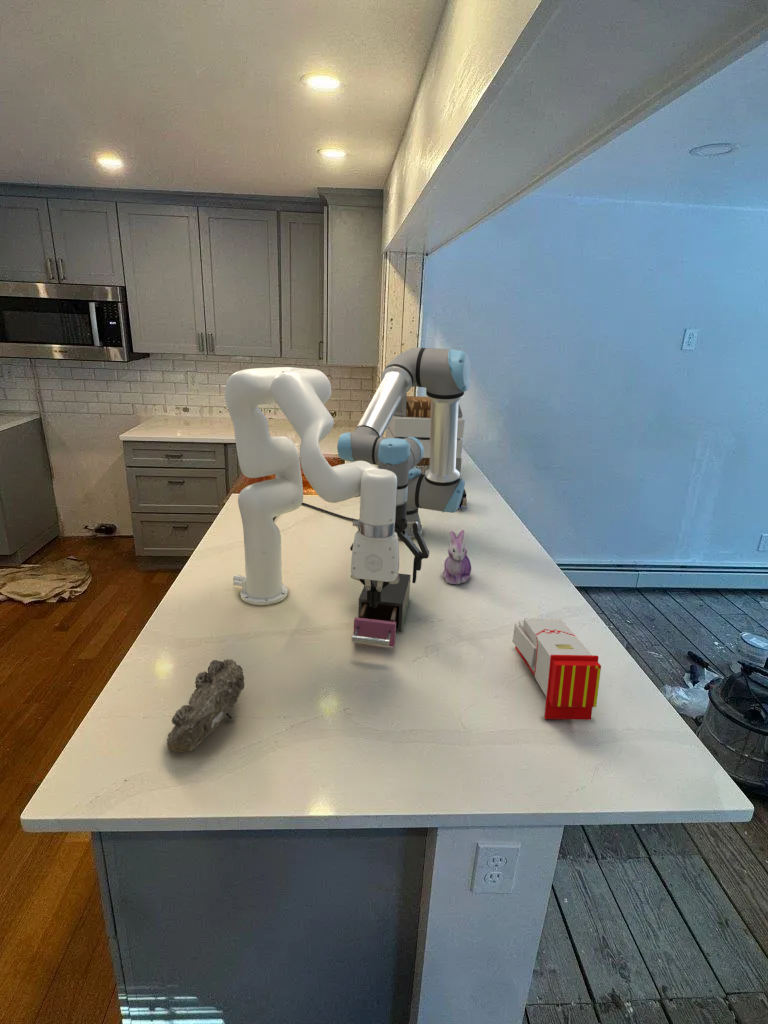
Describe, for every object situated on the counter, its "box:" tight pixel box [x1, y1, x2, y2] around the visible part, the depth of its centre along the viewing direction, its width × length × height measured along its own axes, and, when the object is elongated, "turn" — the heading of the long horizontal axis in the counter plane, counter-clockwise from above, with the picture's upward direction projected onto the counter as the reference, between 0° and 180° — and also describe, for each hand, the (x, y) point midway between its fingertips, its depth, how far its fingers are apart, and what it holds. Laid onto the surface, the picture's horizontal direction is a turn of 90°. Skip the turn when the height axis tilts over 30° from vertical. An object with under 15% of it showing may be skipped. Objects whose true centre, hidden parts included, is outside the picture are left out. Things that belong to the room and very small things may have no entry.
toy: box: [512, 618, 602, 721], centre depth 123 cm, size 12×13×30 cm
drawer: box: [351, 602, 399, 648], centre depth 136 cm, size 21×10×6 cm, turn 171°
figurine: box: [442, 529, 472, 585], centre depth 166 cm, size 9×10×15 cm
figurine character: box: [458, 488, 468, 511], centre depth 230 cm, size 7×8×15 cm
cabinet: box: [357, 572, 412, 633], centre depth 146 cm, size 16×11×8 cm
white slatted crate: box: [385, 392, 465, 475], centre depth 268 cm, size 34×33×41 cm
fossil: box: [166, 658, 245, 754], centre depth 106 cm, size 22×10×15 cm
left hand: (373, 604), depth 126 cm, fingers closed
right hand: (388, 578), depth 148 cm, fingers open, 13 cm apart
